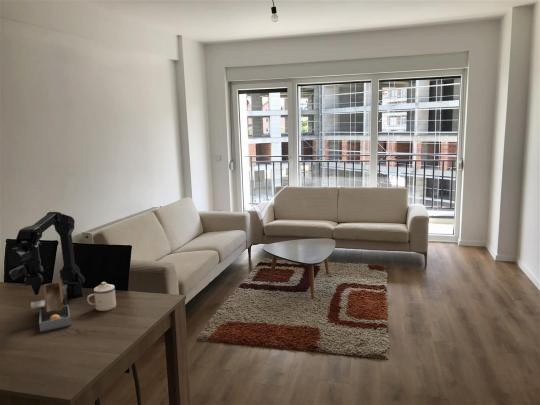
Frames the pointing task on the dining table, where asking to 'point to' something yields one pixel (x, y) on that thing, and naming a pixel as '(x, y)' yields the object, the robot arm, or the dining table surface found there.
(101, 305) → the teacup with lid
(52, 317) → the ball
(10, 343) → the dining table surface
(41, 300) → the stand
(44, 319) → the bin
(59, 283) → the chute
